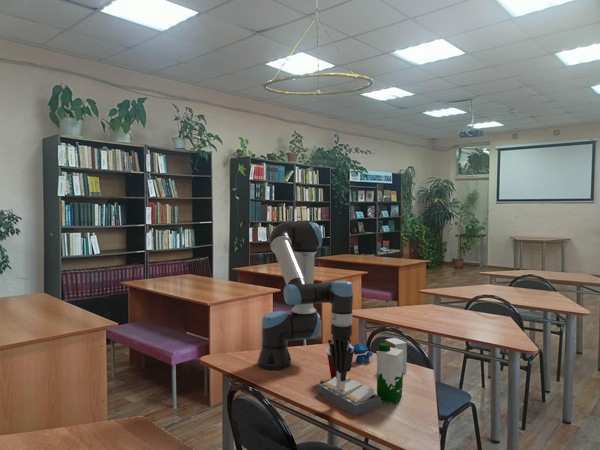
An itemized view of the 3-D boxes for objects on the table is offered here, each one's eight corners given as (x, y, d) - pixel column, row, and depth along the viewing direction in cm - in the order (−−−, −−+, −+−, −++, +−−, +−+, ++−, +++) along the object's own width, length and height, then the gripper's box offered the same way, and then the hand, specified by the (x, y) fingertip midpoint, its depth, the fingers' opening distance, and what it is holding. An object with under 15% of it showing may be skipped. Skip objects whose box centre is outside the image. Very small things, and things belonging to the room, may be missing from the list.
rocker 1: (324, 388, 159) (323, 383, 159) (342, 377, 164) (341, 372, 164) (332, 392, 155) (331, 388, 155) (350, 381, 160) (349, 377, 160)
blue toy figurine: (377, 346, 196) (360, 345, 189) (374, 365, 195) (357, 364, 188) (365, 342, 202) (348, 341, 194) (362, 360, 201) (345, 360, 193)
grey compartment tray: (309, 388, 164) (309, 379, 164) (333, 381, 171) (333, 372, 171) (355, 415, 142) (355, 405, 142) (380, 406, 149) (381, 396, 149)
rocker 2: (335, 393, 154) (334, 388, 154) (353, 384, 159) (352, 379, 159) (343, 398, 150) (343, 392, 149) (362, 388, 155) (361, 383, 154)
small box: (383, 368, 187) (384, 339, 187) (395, 366, 190) (396, 337, 189) (394, 374, 180) (395, 344, 179) (406, 372, 182) (407, 342, 182)
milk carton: (382, 391, 162) (382, 340, 162) (405, 397, 157) (405, 344, 157) (373, 399, 155) (374, 346, 154) (397, 405, 150) (398, 350, 149)
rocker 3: (346, 401, 148) (345, 396, 148) (365, 388, 153) (364, 384, 153) (356, 406, 144) (355, 401, 144) (374, 393, 149) (373, 388, 149)
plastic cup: (350, 386, 167) (351, 356, 166) (323, 384, 169) (324, 354, 168) (353, 376, 177) (353, 348, 177) (327, 374, 179) (327, 346, 179)
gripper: (322, 321, 155) (321, 385, 155) (345, 329, 144) (344, 397, 144) (338, 319, 159) (337, 380, 159) (361, 326, 148) (360, 392, 148)
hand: (340, 388), depth 152 cm, fingers closed
